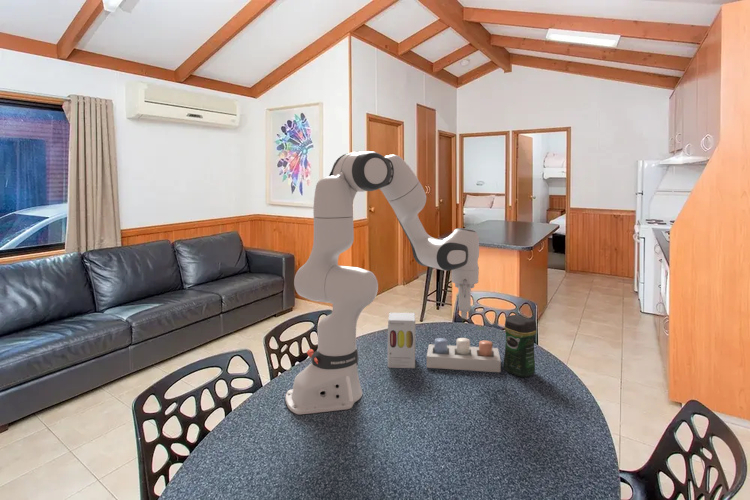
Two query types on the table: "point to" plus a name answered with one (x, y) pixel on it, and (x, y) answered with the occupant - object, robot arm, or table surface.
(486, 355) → the terracotta key
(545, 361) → the table surface
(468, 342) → the ivory key
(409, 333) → the supplement box
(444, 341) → the slate blue key
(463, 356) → the white boxy piece
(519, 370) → the coffee jar
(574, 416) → the table surface
